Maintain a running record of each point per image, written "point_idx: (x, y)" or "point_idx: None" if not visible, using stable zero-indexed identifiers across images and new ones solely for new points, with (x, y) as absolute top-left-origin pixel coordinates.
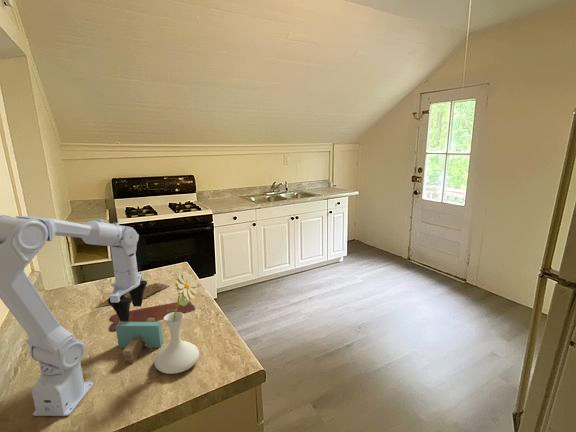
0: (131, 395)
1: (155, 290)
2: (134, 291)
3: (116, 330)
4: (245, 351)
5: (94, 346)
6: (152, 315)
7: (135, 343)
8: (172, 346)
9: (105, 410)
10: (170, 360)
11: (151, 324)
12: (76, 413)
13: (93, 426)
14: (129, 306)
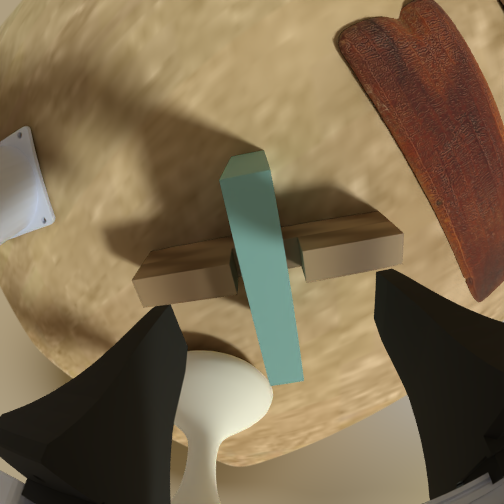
0: (80, 333)
1: None
2: (441, 391)
3: (222, 174)
4: (283, 453)
5: (215, 44)
6: (459, 178)
7: (190, 298)
8: (185, 433)
9: (34, 304)
10: None
11: (276, 359)
12: (3, 251)
13: (11, 304)
14: (169, 452)
